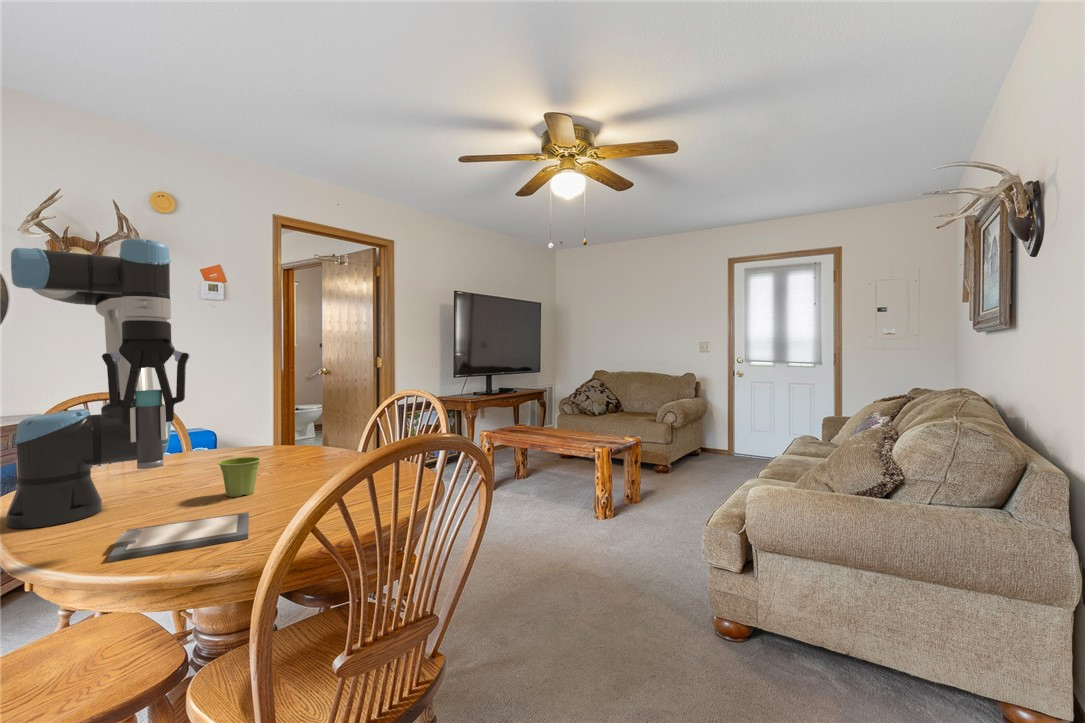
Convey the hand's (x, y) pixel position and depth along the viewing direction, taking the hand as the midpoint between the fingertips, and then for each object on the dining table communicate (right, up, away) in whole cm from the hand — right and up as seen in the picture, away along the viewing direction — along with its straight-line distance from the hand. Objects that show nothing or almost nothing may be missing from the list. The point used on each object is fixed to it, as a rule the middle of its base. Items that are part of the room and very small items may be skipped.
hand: (149, 439), depth 97 cm
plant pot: (-1, -19, +31) cm, 36 cm away
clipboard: (+6, -20, +2) cm, 21 cm away
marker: (0, -5, 0) cm, 5 cm away
